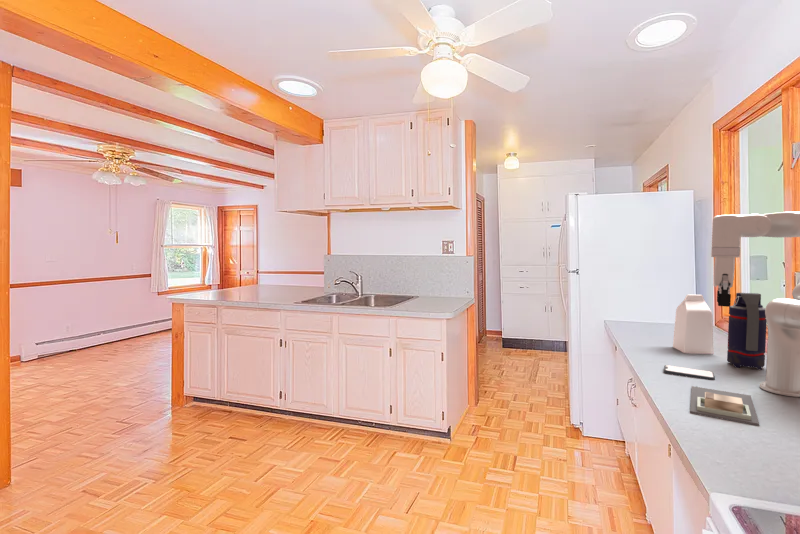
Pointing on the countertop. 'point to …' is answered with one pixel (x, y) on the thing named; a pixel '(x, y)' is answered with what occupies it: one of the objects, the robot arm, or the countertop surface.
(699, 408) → the tray
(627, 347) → the countertop surface
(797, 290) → the robot arm
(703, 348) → the milk
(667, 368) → the smartphone
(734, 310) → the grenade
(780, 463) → the countertop surface
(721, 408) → the block
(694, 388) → the mat
